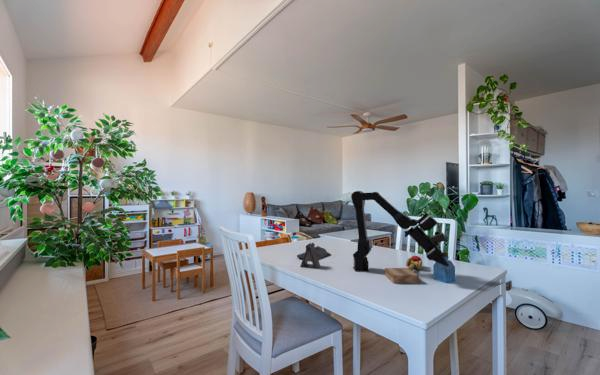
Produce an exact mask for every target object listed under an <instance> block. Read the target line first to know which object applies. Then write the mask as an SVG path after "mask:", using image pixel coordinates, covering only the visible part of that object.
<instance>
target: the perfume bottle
mask: <svg viewBox="0 0 600 375" xmlns="http://www.w3.org/2000/svg"><path fill="white" fill-rule="evenodd" d="M442 256H443V258H444V259H445V260H446V262H447V263H448V264H449V266H448V267H447V266H446V265H445V266H444V265H442V264H440V263H438V262H435V261H434V262H435V263H433V265H432V266H433V275H432V276H433V280H436V281H439V282H442V283H445V284H447V283H452V282H455V281H456V266H455V265H454V263H453V262H452V261H451V260H450V259H449V253H448V252H444V251H443V252H442ZM448 259H449V260H448Z"/></svg>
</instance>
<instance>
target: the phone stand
mask: <svg viewBox="0 0 600 375" xmlns="http://www.w3.org/2000/svg"><path fill="white" fill-rule="evenodd" d="M315 247H316V246H315V243H314V242H310V243H308V244H306V246H305V252H304V253H305V255H304V257H303V259H302V260H301V264H300V268H305V269H316V270H317V269H318V268H320V266H321V263H320V260H318V257H317V254H316V251H315ZM309 255H311V259H312V261H311V263H312V264H311V263H308V262H309V261H308V259H309Z"/></svg>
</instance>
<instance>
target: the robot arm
mask: <svg viewBox="0 0 600 375" xmlns="http://www.w3.org/2000/svg"><path fill="white" fill-rule="evenodd" d="M350 198H351V201H352V205H353V208H354V209H355V216H356V224H357V232H358V233H357V234H358V239H357V249H356V250H357V251H355V252H354V253H353V254H352V257H353V266H352V269H353V270H354V271H355V272H369V260H368V257H367V256H368V255H369V254H370V253H371V251H372V248H373V244H372V243H373V242H372V241H373V240H372V239H371V238H369V237H368V231H367V230H368V229H367V223H366V222H367V221H366V215H365V205H366V201H375V203H376V204H378V205H379V206H380V207H381V208H382V209H383V210H384V211H386V212H387V213H388V214H389V215H390V216H391V217H392V218H393V219H394V222H395V223H396V224H397V225H398V227H399V228H401V229H402V230H404V238H406V237H408V236H410V237H411V239H412V240H414V242H415V243H417V245H418V246H419V247H421V249H423V251H424V252H425V254H426V258H427V259H428V260H429V261H434V262H438V263H440V264H442V265H444V266H445V265H446V266H447V267H448V266H449V264H448V263H447V262H446V260H445V259H444V258H443V256H442V249H441V248H442V247H441V245H440V243H442V242H446V241H447V237H446V235H445V234H444V232H440V231H439V230H436V231H434V235H432V236H430V235H429V234H426V231H427V232H430V231H431V230H432V229H433V228H435V226H437V225H438V224H439V222H438V221H437V220H436V219H435V218H434V217H433V216H431V215H430V214H428V213H427V212H425V213H424V214H423V215H422V216H421V217H420V218H419V219H414V218H411V217H410V216H408V215H407V214H405V213H403V212H401V211H399V210H398V209H397V207H395V206H393V204H391V203H390V202H389V201H388V200H387V199H386V198H384V196H382V195H381V194H380V193H379V192H378V191H373V192H363V191H361V190H357V191H355V190H354V192H352V194H351V195H350ZM407 229H408V230H407Z"/></svg>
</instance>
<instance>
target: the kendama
mask: <svg viewBox="0 0 600 375" xmlns="http://www.w3.org/2000/svg"><path fill="white" fill-rule="evenodd" d="M405 266H406V268H409V269H411V270H412V271H413V272H414V269H415V268H416V269H417V271H422V267H423V259H422V258H421V257H420V256H419V255H412V256H410V257H407V259H406V264H405Z"/></svg>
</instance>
